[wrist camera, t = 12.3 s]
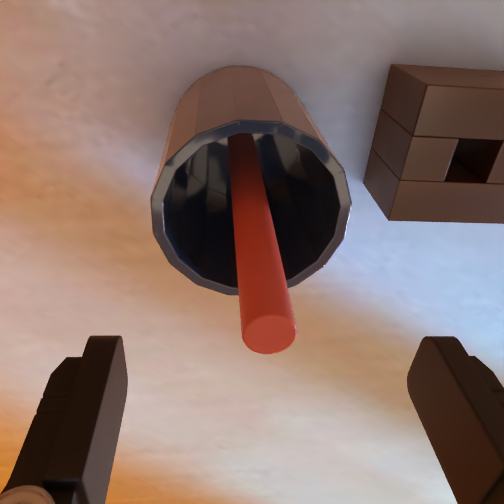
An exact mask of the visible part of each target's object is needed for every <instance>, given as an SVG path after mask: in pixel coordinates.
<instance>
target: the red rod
mask: <svg viewBox="0 0 504 504" xmlns="http://www.w3.org/2000/svg"><path fill="white" fill-rule="evenodd" d="M228 157H229V170H230V183H231V197H232V210H233V223H234V237H235V250H236V263H237V277H238V290H239V303H240V317H241V330H242V339H243V341H244V343H245V344H246V346H247V347H248V348H249V349H251V350H252V351H254V352H257V353H262V354H273V353H278V352H280V351H283V350H285V349H286V348H288V347H289V346H290V345H291V344H292V343H293V342H294V340H295V338H296V335H297V327H296V322H295V318H294V313H293V309H292V305H291V300H290V296H289V291H288V287H287V283H286V278H285V274H284V269H283V265H282V261H281V256H280V252H279V247H278V243H277V239H276V234H275V230H274V225H273V221H272V217H271V212H270V208H269V203H268V199H267V195H266V190H265V186H264V181H263V177H262V173H261V168H260V164H259V159H258V155H257V151H256V146H255V142H254V138H253V136H252V135H251V133H238V134H235V135H232V136H229V138H228Z"/></svg>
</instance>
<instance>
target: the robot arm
mask: <svg viewBox="0 0 504 504" xmlns="http://www.w3.org/2000/svg"><path fill="white" fill-rule="evenodd" d="M127 386H128V376H127V368H126V361H125V354H124V347H123V340H122V337H121V336H90V337H89V339H88V341H87V344H86V347H85V350H84V353H83V356H82V357H66V358H65V359H64V361H63V362H62V363H61V364H60V365H59V366H58V367H57V368H56V369H55V370H54V372H53V373H52V374H51V376H50V378H49V381H48V383H47V386H46V388H45V391H44V393H43V398H41V401H40V403H39V406H38V408H37V414H36V415H35V416H34V419H33V421H32V424H31V426H30V429H29V431H28V434H27V436H26V439H25V441H24V444H23V446H22V449H21V451H20V454H19V456H18V459H17V461H16V464H15V467H14V469H13V472H12V474H11V477H10V479H9V481H8V483H7V485H6V486H5V488H4V490H3V491H2V492H1V494H0V504H105V501H106V496H107V491H108V486H109V481H110V476H111V471H112V466H113V461H114V456H115V451H116V446H117V441H118V436H119V431H120V427H121V422H122V417H123V412H124V407H125V402H126V396H127ZM407 387H408V392H409V395H410V398H411V400H412V402H413V404H414V407H415V409H416V411H417V413H418V416H419V418H420V420H421V422H422V425H423V427H424V429H425V431H426V434H427V436H428V438H429V440H430V442H431V445H432V447H433V449H434V451H435V454H436V456H437V458H438V460H439V463H440V465H441V467H442V469H443V472H444V474H445V476H446V478H447V481H448V483H449V485H450V487H451V490H452V492H453V494H454V496H455V499H456V501H457V503H458V504H504V388H503V386H502V385H501V383H500V382H499V380H498V379H497V377H496V376H495V374H494V373H493V371H492V370H490V369H489V368H488V367H487V366H486V365H485V364H483V363H482V362H481V361H480V360H479V359H478V358H477V357H475V356H469V355H468V354H467V352H466V351H465V349H464V347H463V346H462V344H461V343H460V341H459V340H458V339H457V338H455V337H453V336H426V337H424V338H423V339H422V341H421V343H420V346H419V348H418V351H417V353H416V355H415V358H414V360H413V362H412V365H411V367H410V370H409V372H408V376H407Z"/></svg>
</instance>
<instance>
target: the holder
mask: <svg viewBox="0 0 504 504" xmlns="http://www.w3.org/2000/svg"><path fill="white" fill-rule="evenodd" d="M363 184H364V185H365V187H366V188H367V190H368V191H369V193H370V194H371V196H372V197H373V199H374V200H375V202H376V203H377V205H378V206H379V207H380V209H381V210H382V212H383V213H384V215H385V216H386V218H387V219H388V220H389V221H424V222H461V223H499V224H504V71H493V70H478V69H462V68H447V67H432V66H417V65H401V64H391V68H390V72H389V76H388V80H387V84H386V89H385V93H384V97H383V101H382V106H381V109H380V113H379V118H378V122H377V126H376V130H375V135H374V139H373V143H372V148H371V152H370V156H369V160H368V164H367V169H366V173H365V177H364V181H363Z"/></svg>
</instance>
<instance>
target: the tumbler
mask: <svg viewBox="0 0 504 504" xmlns="http://www.w3.org/2000/svg"><path fill="white" fill-rule="evenodd" d="M238 133H251V135H252V136H253V138H254V142H255V146H256V151H257V155H258V159H259V164H260V168H261V173H262V177H263V181H264V186H265V190H266V195H267V199H268V203H269V208H270V212H271V217H272V221H273V225H274V230H275V234H276V239H277V243H278V247H279V252H280V256H281V261H282V265H283V269H284V274H285V278H286V283H287V287H288V288H290V287H293V286H296V285H298V284H299V283H301V282H302V281H304V280H305V279H306V278H308V277H309V276H311V275H312V274H314V273H315V272H316V271H318V270H319V269H321V268H322V267H324V265H326V263H327V262H328V260H329V259H330V258H331V256H332V255H333V253H334V252H335V250H336V249H337V248H338V246H339V245H340V243H341V242H342V241H343V239H344V237H345V233H346V228H347V224H348V220H349V215H350V211H351V206H352V205H351V204H352V202H351V198H350V193H349V189H348V184H347V180H346V175H345V171H344V169H343V167H342V166H341V164H340V162H339V161H338V159H337V158H336V156H335V155H334V153H333V151H332V150H331V148H330V147H329V145H328V143H327V142H326V140H325V139H324V137H323V136H322V134H321V132H320V131H319V129H318V128H317V126H316V124H315V123H314V121H313V120H312V118H311V117H310V115H309V113H308V112H307V110H306V109H305V107H304V105H303V104H302V103H301V101H300V100H299V99H298V98H297V96H296V95H295V93H294V92H293V91H292V90H291V89H290V87H289V86H288V85H287V84H286V83H285V82H284V81H282V80H281V79H280V78H278V77H276V76H275V75H273V74H271V73H269V72H267V71H265V70H262V69H258V68H255V67H248V66H232V67H225V68H222V69H218V70H215V71H213V72H211V73H209V74H207V75H205V76H203V77H202V78H200V79H199V80H198V81H196V82H195V83H194V84H193V85H192V86H191V87H190V88H189V89H188V90H187V91H186V93H185V94H184V96H183V97H182V98H181V99H180V102H179V104H178V106H177V108H176V111H175V114H174V117H173V119H172V122H171V125H170V128H169V132H168V136H167V139H166V143H165V147H164V150H163V154H162V158H161V161H160V165H159V169H158V172H157V176H156V180H155V184H154V187H153V191H152V195H151V215H152V229H153V235H154V237H155V238H156V240H157V242H158V244H159V246H160V247H161V249H162V251H163V253H164V254H165V256H166V258H167V260H168V262H169V263H170V264H171V265H172V266H173V267H175V268H176V269H177V270H178V271H180V272H181V273H182V274H184V275H185V276H186V277H187V278H189V279H190V280H191V281H192V282H194V283H195V284H197V285H199V286H202V287H205V288H208V289H211V290H214V291H217V292H220V293H223V294H226V295H239V290H238V277H237V263H236V250H235V237H234V223H233V210H232V197H231V183H230V170H229V157H228V138H229V136H232V135H235V134H238Z"/></svg>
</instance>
